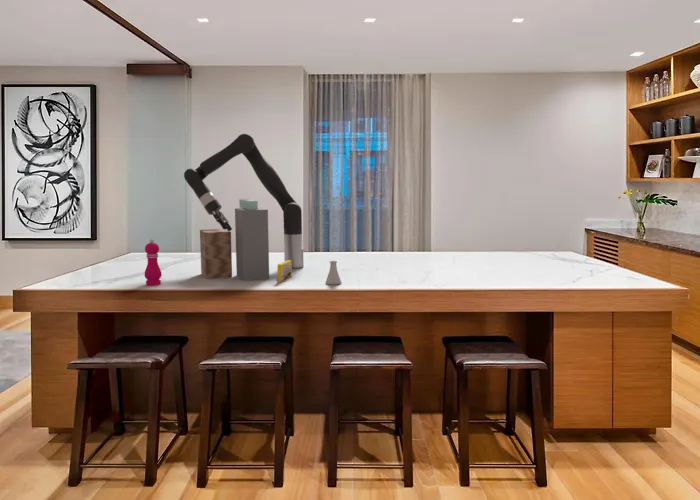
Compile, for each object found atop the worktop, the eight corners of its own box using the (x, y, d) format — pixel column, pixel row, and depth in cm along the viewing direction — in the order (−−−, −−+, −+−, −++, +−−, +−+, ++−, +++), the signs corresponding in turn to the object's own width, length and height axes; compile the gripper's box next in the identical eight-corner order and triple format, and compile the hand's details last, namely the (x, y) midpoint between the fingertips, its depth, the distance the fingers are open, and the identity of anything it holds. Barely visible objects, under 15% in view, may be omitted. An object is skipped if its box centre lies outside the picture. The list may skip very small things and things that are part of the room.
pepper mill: (165, 283, 291) (163, 238, 289) (155, 286, 284) (153, 240, 282) (151, 282, 293) (149, 238, 291) (141, 285, 286) (139, 239, 284)
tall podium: (261, 274, 317) (259, 207, 313) (269, 278, 302) (267, 209, 298) (236, 275, 313) (234, 208, 309) (243, 280, 298) (241, 210, 294)
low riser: (226, 272, 322) (224, 229, 320) (232, 277, 307) (230, 231, 305) (201, 274, 318) (199, 229, 315) (206, 278, 303) (204, 232, 301)
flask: (324, 282, 291) (324, 260, 290) (341, 282, 292) (341, 260, 291) (325, 285, 284) (325, 262, 283) (342, 285, 284) (342, 262, 283)
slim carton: (247, 207, 320) (247, 199, 320) (257, 209, 300) (257, 200, 299) (239, 207, 319) (239, 199, 318) (249, 209, 298) (248, 200, 298)
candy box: (281, 283, 291) (281, 264, 290) (277, 282, 292) (276, 264, 291) (292, 277, 307) (291, 259, 306) (287, 277, 308) (287, 259, 307)
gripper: (212, 197, 320) (230, 223, 319) (220, 200, 335) (237, 226, 333) (200, 205, 321) (218, 232, 319) (208, 209, 335) (225, 235, 333)
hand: (228, 229), depth 326 cm, fingers open, 8 cm apart
